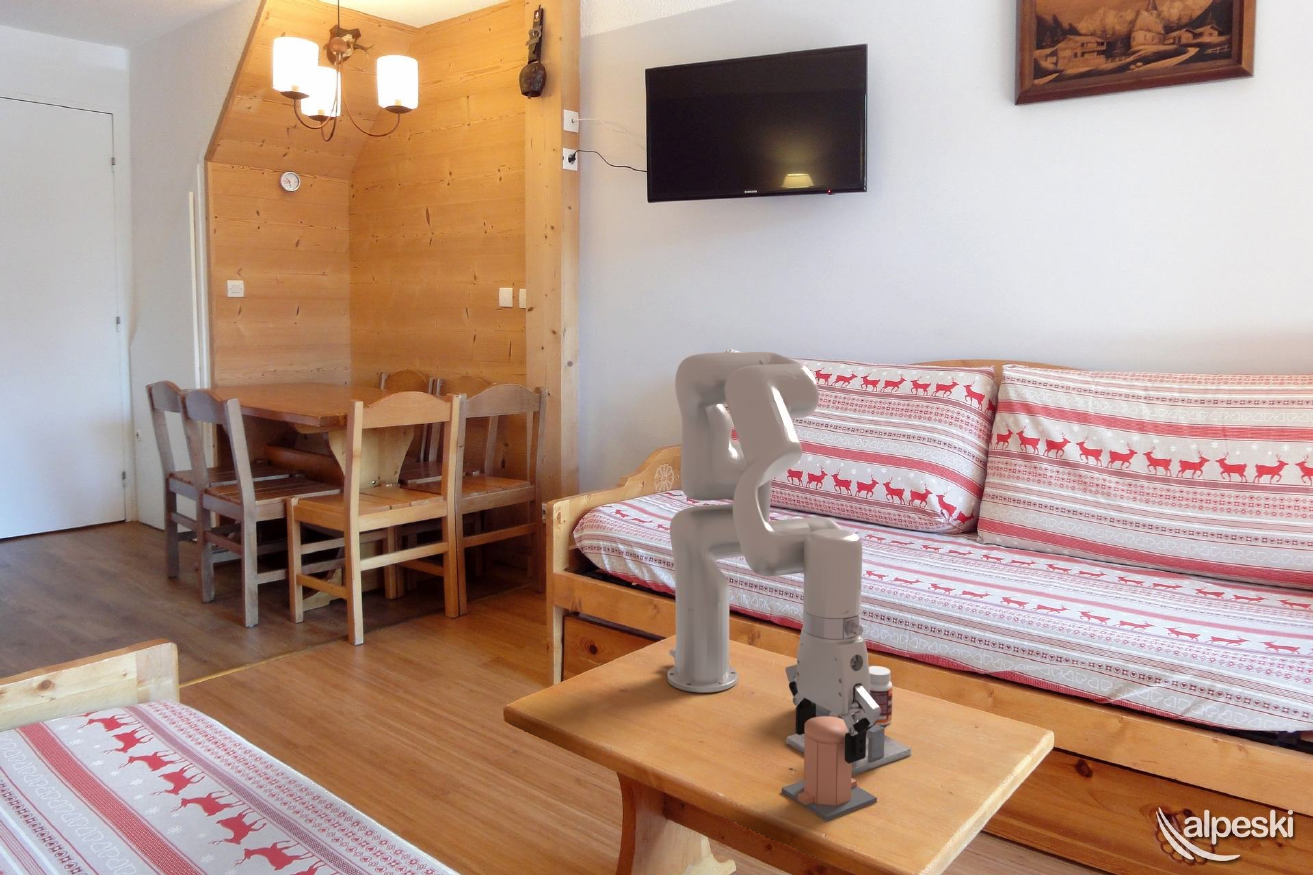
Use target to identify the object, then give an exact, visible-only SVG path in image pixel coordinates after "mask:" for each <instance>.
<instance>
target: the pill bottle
mask: <svg viewBox="0 0 1313 875" xmlns="http://www.w3.org/2000/svg"><path fill="white" fill-rule="evenodd" d="M869 675H870V696H871V697H872V699H873V700H874V701H875V702H876V703H877V704H878V706H879V707H880V708H881V713H880V715H879V717H878V719H877V720H876V724H877V725H879V726H881V727H883V726H887V725H889V724H890V723H891V722H892V719H893V718H892V716H893V715H892V714H893V684H892V682H891V670H890V669H889V668H888V667H884V666H881V665H879V666H878V665H871V666H869ZM863 711H864V713H865V710H863Z"/></svg>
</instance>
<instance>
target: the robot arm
mask: <svg viewBox="0 0 1313 875" xmlns="http://www.w3.org/2000/svg"><path fill="white" fill-rule="evenodd" d="M674 382H675V384H674V386H675V388H674V389H675V395H676V400H677V403H678V407H679V410H680V417H681V424H682V426H681V427H682V428H681V429H682V430H681V432H682V433H681V452H680V486H681V491H682V493H683V494H684V496H686V497H687V498H688V499H689V500H693V501H699V502H700V501H701V502H702V501H703V502H704V501H706V502H707V501H709V502H710V501H725V500H732V501H733V502H732V503H726V504H707V505H699V506H698V505H696V506H691V507H687V508H684V509H681V510H679V511H678V512H677V513H676V514H674V515H673V517H672V518H671V521H670V523H669V539H670V544H671V549H672V557H673V562H674V563H673V565H674V576H675V577H674V578H675V581H674V583H675V648H671V649H670V650H669V652H668V654H669V656H670V657H672V658H674V666H672V667H671V668H670V669H668V671H667V677H666V678H667V682H668V683H669V684H670V685H671V686H673V687H674V688H676V689H679V690H681V691H685V692H691V693H698V694H699V693H701V694H702V693H704V694H706V693H707V694H708V693H716V692H722V691H725V690H728V689H730V688H732V687H734V686H735V685H736V684H737V683H738V678H739V675H738V674H739V673H738V671H737V670H736V669H735V668H733V667H732V666H731V665H730V585H729V582H728V578H727V577H726V575H725V574H724V572H723V571H722V570H721V569H720V568H719V567H718V566H717V561H719V560H724V559H733V558H741V557H742V558H743V557H744V559H745V561H746V563H747V566H748V567H749V568H750V570H751V571H753V572H754V573H755V574H757V575H758V576H762V577H767V578H768V577H777V576H778V577H779V576H786V575H793V574H794V575H795V574H796V575H797V574H802V573H803V593H802V594H803V598H802V599H803V600H802V602H803V603H802V604H803V605H802V606H803V611H802V612H803V613H802V616H803V618H802V628H801V631H800V635H799V641H798V646H797V647H798V648H797V654H796V655H797V656H796V664H793V665H790V666H787V667H785V674H786V677H787V681H788V682H789V683H788V688H789V691H790V693H791V694H792V703H793V705H794V706H795V734H798V735H802V734H805V722H806V721H807V720H809V719H811V718H815V717H816V704H817V705H819V706H821V707H823V708H825V709H827V710H829V711H831V712H833V713H835V714H837V715H840V716H842V718H843V720H844V722H845V724H846V727H847V729H848V731H849V732H848V733H845V762H847V763H849V764H850V763H853V762H855V761H858V760H861V759H864V758H865V756H866V732H867V731H869V730H870V728H871V727H873V726H874V725H875V724H876V720H877V719H878V717H879V715H880V713H881V708H880V707H879V706H878V704H877V703H876V702H875V701H874V700H873V699H872V697H871V696H870V675H869V667H870V666H869V656H868V650H867V645H866V640H865V638H864V637H862V636H861V635H863V633H864V627H863V626H862V623H861V622H862V621H861V620H862V579H863V578H862V575H863V573H862V572H863V543H862V540H861V538H860V536H859V535H857V533H855V532H853V531H850V530H847V529H843V528H842V527H841V526H840V525H839V524H838V523H837V522H836V521H834V520H833V519H832V518H829V517H826V516H825V517H822V516H817V517H816V516H815V517H805V518H790V519H789V518H787V519H780V520H779V519H777V520H770V510H771V496H772V494H771V493H772V480H773V479H775V478H777V477H778V476H781V475H782V474H785V473H786V472H788V471H789V470H791V469H792V468H793V467H794V466H795V465H796V464H797V463H798V462H800V460H801V457H802V456H803V447H802V446H803V445H802V443H801V440H800V438H799V435H798V433H797V430H796V426H795V424H794V421H793V419H802V418H806V417H809V416H811V415H812V414H813V413H814V412H815V410H816V409H817V407H818V404H819V399H820V398H819V397H820V396H819V394H820V392H819V388H818V383H817V381H816V378H815V376H814V375H813V373H812V371H811V370H810V369H809V368H808V367H807V366H805V365H804V364H802V363H801V362H798V361H797V360H794V359H791V358H789V357H786V356H783V355H781V354H778V353H776V352H775V353H774V352H770V351H769V352H768V351H749V352H747V351H745V352H744V351H743V352H735V351H734V352H730V351H729V352H727V351H726V352H708V353H707V352H706V353H698V354H693V355H690V356H686V357H685V358H684V359H683V360H681V362H680V364H679V365H678V367H677V370H676V373H675V380H674ZM724 405H727V408H728V410H727V409H726V406H724ZM728 411H729V412H728ZM729 413H730V414H729ZM733 426H734V429H735V433H736V436H737V438H738V442H739V443H734V444H732V434H733V433H732V432H733ZM851 705H852V706H853V708H852V709H849V707H851ZM863 710H865V713H864V711H863ZM853 714H855V715H856V717H857V719H858V722H857V723H856V724H855V723H854V720H853V718H852V716H851V715H853Z"/></svg>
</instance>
